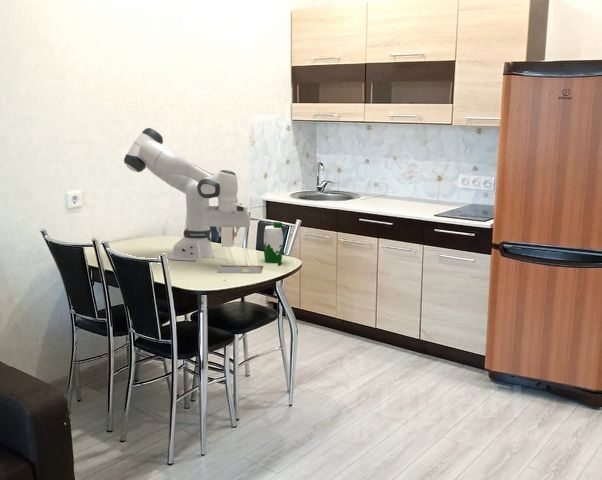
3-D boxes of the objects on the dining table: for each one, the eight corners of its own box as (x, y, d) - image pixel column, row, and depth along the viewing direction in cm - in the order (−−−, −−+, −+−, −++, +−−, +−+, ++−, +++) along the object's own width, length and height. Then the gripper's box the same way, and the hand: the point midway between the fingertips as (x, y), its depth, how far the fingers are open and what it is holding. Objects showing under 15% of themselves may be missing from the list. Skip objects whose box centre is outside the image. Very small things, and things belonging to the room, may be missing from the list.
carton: (232, 246, 288) (232, 227, 286) (221, 246, 288) (221, 227, 286) (234, 243, 295) (234, 224, 293) (223, 243, 295) (223, 224, 293)
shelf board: (216, 275, 285) (216, 272, 284) (221, 267, 298) (221, 265, 298) (261, 275, 284) (261, 273, 284) (263, 268, 298) (263, 265, 298)
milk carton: (282, 265, 303) (282, 224, 299) (263, 265, 304) (263, 224, 300) (283, 261, 312) (283, 221, 308) (264, 261, 312) (264, 221, 308)
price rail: (217, 272, 284) (217, 267, 284) (218, 272, 285) (218, 266, 285) (260, 273, 284) (260, 267, 283) (260, 272, 285) (260, 267, 284)
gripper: (203, 206, 285) (204, 237, 287) (249, 207, 285) (249, 238, 287) (206, 204, 291) (206, 234, 294) (250, 205, 291) (250, 235, 294)
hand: (227, 236), depth 290 cm, fingers closed on carton, 5 cm apart
